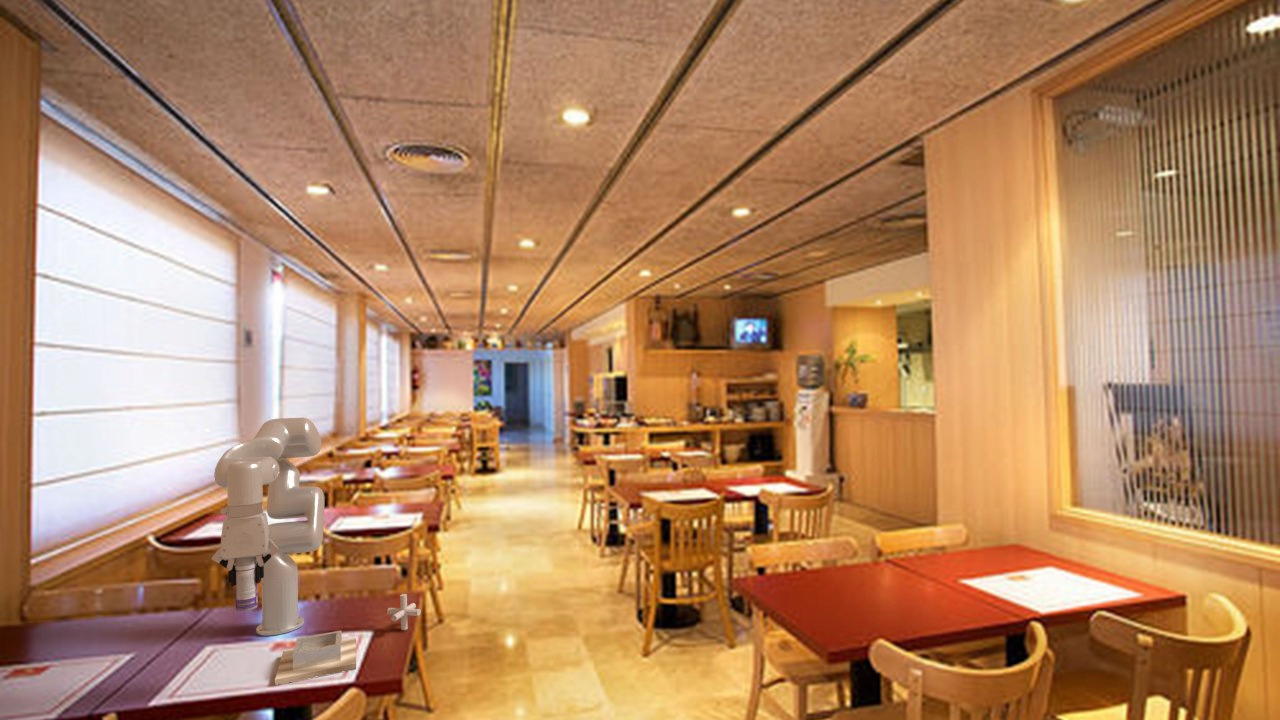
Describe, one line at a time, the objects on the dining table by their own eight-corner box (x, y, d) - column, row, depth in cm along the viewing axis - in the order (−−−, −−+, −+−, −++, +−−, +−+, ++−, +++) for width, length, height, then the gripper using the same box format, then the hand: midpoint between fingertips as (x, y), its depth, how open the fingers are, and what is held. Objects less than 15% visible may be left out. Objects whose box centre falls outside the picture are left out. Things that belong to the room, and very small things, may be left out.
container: (242, 605, 157) (241, 546, 158) (261, 604, 158) (260, 545, 158) (231, 612, 153) (230, 551, 153) (251, 611, 153) (250, 550, 153)
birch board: (283, 656, 167) (283, 651, 167) (356, 643, 175) (356, 637, 175) (275, 685, 151) (274, 679, 151) (356, 669, 158) (355, 663, 158)
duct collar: (297, 653, 165) (296, 638, 166) (341, 645, 170) (341, 630, 170) (293, 670, 156) (292, 654, 156) (340, 660, 160) (340, 645, 160)
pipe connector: (409, 636, 178) (409, 601, 178) (378, 635, 180) (378, 600, 180) (428, 623, 188) (427, 589, 188) (399, 621, 190) (398, 588, 190)
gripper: (201, 517, 149) (202, 593, 149) (281, 509, 156) (283, 582, 155) (209, 511, 156) (210, 584, 156) (285, 504, 163) (287, 573, 162)
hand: (246, 582), depth 155 cm, fingers closed on container, 4 cm apart
